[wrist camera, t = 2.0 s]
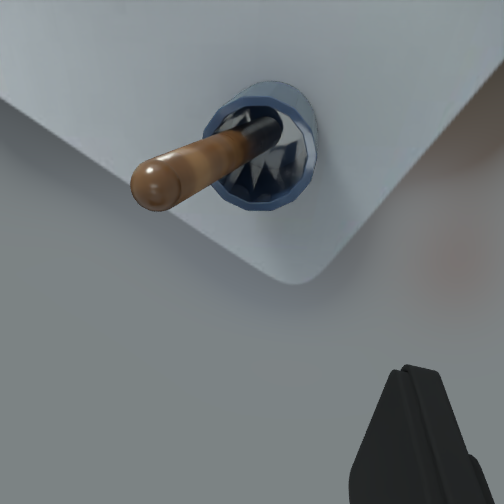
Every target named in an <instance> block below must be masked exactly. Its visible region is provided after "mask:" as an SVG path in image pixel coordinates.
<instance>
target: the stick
mask: <svg viewBox="0 0 504 504" xmlns="http://www.w3.org/2000/svg"><path fill="white" fill-rule="evenodd" d="M280 138H281V127H280V125H279V123H278V122H277V121H276V120H275V119H273V118H271V117H267V116H266V117H260V118H257V119H255V120H252V121H250V122H247V123H244V124H242V125H239V126H236V127H234V128H231V129H228V130H226V131H223V132H220V133H218V134H215V135H212V136H210V137H207V138H205V139H202V140H199V141H197V142H194V143H191V144H189V145H186V146H183V147H181V148H178V149H175V150H173V151H170V152H167V153H165V154H162V155H160V156H157V157H154V158H152V159H149V160H146V161H144V162H143V163H141V164H140V165H139V166H138V167H137V168H136V169H135V171H134V172H133V174H132V177H131V182H130V187H131V192H132V195H133V197H134V199H135V200H136V201H137V202H138V204H139V205H141V206H142V207H144V208H146V209H148V210H150V211H166V210H168V209H171V208H172V207H174V206H176V205H177V204H179V203H181V202H182V201H184V200H186V199H187V198H189V197H191V196H192V195H194V194H196V193H197V192H199V191H201V190H202V189H204V188H206V187H207V186H209V185H211V184H212V183H214V182H216V181H217V180H219V179H221V178H222V177H224V176H226V175H227V174H229V173H231V172H232V171H234V170H236V169H237V168H239V167H241V166H242V165H244V164H246V163H247V162H249V161H251V160H252V159H254V158H256V157H257V156H259V155H261V154H262V153H264V152H266V151H267V150H269V149H271V148H272V147H274V146H275V145H276V144H277V143H278V142H279V140H280Z"/></svg>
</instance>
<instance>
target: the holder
mask: <svg viewBox="0 0 504 504" xmlns="http://www.w3.org/2000/svg"><path fill="white" fill-rule="evenodd" d="M266 116H267V117H271V118H273V119H275V120H276V121H277V122H278V123H279V125H280V127H281V138H280V140H279V142H278V143H277V144H276V145H275V146H274V147H272V148H271V149H269V150H267V151H266V152H264V153H262V154H261V155H259V156H257V157H256V158H254V159H252V160H251V161H249V162H247V163H246V164H244V165H242V166H241V167H239V168H237V169H236V170H234V171H232V172H231V173H229V174H227V175H226V176H224V177H222V178H221V179H219V180H217V181H216V182H214V183H212V184H211V186H212V187H213V188H214V189H215V190H216V191H217V193H218V194H219V195H220V196H221V197H222V198H223V199H224V200H225V201H227V202H229V203H232V204H234V205H236V206H238V207H240V208H242V209H244V210H248V211H271V210H275V209H277V208H279V207H282V206H284V205H286V204H288V203H290V202H293V201H294V200H296V198H297V197H298V196H299V195H300V194H301V193H302V191H303V190H304V189H305V188H306V187H307V185H308V184H309V183H310V181H311V179H312V176H313V172H314V168H315V164H316V160H317V125H316V118H315V114H314V110H313V108H312V106H311V104H310V102H309V101H308V100H307V98H306V97H305V96H304V95H303V94H302V93H301V92H300V91H299V90H298V89H296V88H294V87H293V86H291V85H288V84H286V83H283V82H278V81H265V82H259V83H256V84H254V85H252V86H250V87H248V88H247V89H245V90H243V91H241V92H240V93H239V94H237V95H236V96H235V97H233V98H232V99H231V100H230V101H228V102H227V103H226V104H225V105H223V106H222V107H221V108H220V109H218V111H217V112H216V113H215V115H214V116H213V118H212V119H211V121H210V122H209V124H208V125H207V126H206V128H205V129H204V132H203V139H205V138H207V137H210V136H212V135H215V134H218V133H220V132H223V131H226V130H228V129H231V128H234V127H236V126H239V125H242V124H244V123H247V122H250V121H252V120H255V119H257V118H260V117H266Z"/></svg>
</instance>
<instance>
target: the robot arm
mask: <svg viewBox="0 0 504 504" xmlns="http://www.w3.org/2000/svg"><path fill="white" fill-rule="evenodd" d="M349 501H350V504H495V503H494V500H493V498H492V495H491V492H490V490H489V487H488V484H487V482H486V479H485V477H484V474H483V472H482V469H481V467H480V465H479V463H478V461H477V459H476V458H475V457H473V456H472V455H470V454H468V451H467V449H466V446H465V443H464V440H463V438H462V435H461V432H460V429H459V427H458V424H457V421H456V418H455V416H454V413H453V410H452V407H451V405H450V402H449V399H448V396H447V394H446V391H445V388H444V385H443V382H442V380H441V377H440V375H439V373H438V372H437V371H434V370H430V369H425V368H421V367H417V366H412V365H404V366H403V367H402V369H401V371H399V370H392V372H391V373H390V375H389V377H388V380H387V382H386V384H385V387H384V389H383V392H382V394H381V397H380V399H379V402H378V404H377V407H376V409H375V412H374V414H373V417H372V419H371V422H370V424H369V426H368V429H367V431H366V434H365V437H364V439H363V441H362V444H361V446H360V448H359V451H358V453H357V456H356V458H355V461H354V463H353V466H352V468H351V472H350V477H349Z"/></svg>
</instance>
